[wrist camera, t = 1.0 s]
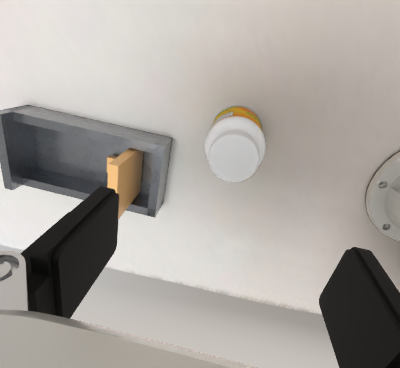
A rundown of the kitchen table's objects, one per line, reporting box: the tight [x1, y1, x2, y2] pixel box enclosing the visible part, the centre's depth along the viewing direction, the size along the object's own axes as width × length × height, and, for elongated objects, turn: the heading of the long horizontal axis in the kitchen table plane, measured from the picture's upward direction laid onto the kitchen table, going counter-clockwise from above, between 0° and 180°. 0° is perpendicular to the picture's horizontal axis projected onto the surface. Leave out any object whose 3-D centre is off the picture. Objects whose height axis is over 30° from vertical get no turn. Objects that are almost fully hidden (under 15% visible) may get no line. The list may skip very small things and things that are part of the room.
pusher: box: [107, 148, 144, 219], centre depth 28 cm, size 4×6×7 cm, turn 169°
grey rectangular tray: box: [0, 105, 172, 217], centre depth 30 cm, size 18×9×5 cm, turn 79°
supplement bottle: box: [204, 106, 266, 183], centre depth 24 cm, size 5×5×10 cm
